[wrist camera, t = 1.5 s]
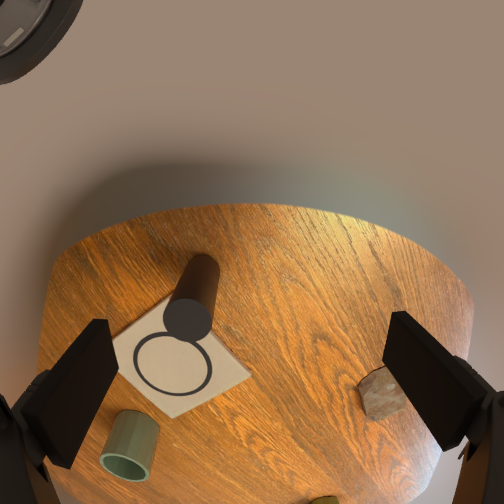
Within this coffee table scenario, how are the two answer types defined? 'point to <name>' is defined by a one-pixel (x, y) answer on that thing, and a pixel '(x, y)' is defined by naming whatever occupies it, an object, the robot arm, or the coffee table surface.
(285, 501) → the coffee table surface
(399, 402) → the stone
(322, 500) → the plant pot
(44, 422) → the robot arm
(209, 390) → the drawing pad
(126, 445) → the pen cup
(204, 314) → the cylinder
